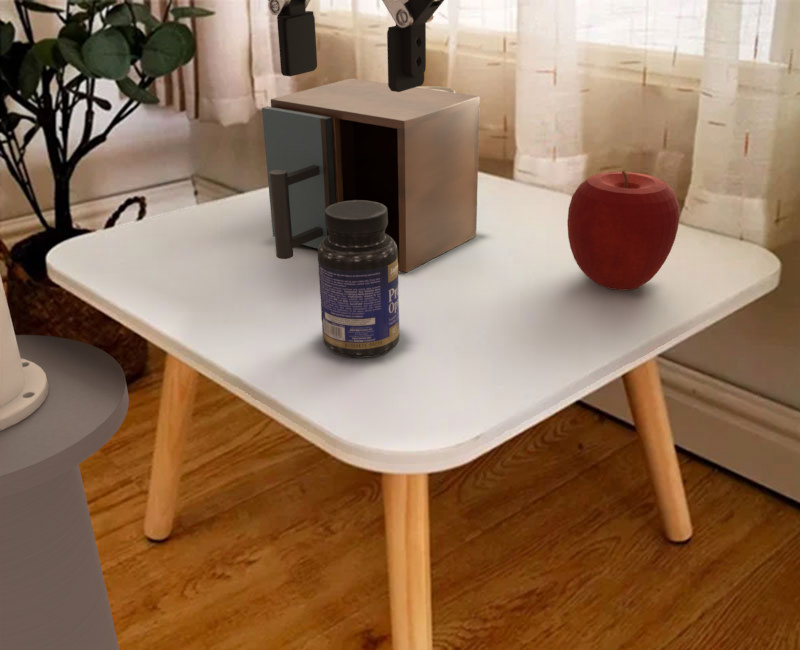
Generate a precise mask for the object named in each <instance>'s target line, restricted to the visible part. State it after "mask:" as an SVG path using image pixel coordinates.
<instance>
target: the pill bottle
mask: <svg viewBox="0 0 800 650" xmlns="http://www.w3.org/2000/svg"><path fill="white" fill-rule="evenodd" d="M325 225H326V227H327V229H328V231H329V236H327V237H326V238H325V239H324V240H323V241H322V242H321V243H320V245H319V248H318V249H317V263H318V279H319V280H318V281H319V282H318V283H319V296H320V313H321V316H320V318H321V319H320V320H321V326H322V327H321V329H322V339H323V344H324V345H325V346H326V347H327V349H329V350H330V351H331V352H333V353H335V354H337V355H341V356H343V357H349V358H371V357H376V356H379V355H380V356H381V355H384V354H387V353H389V352H391V351H392V350H393V349H394V348H395V347H396V346H397V345H398V343H399V341H400V300H399V299H400V298H399V296H400V295H399V294H400V293H399V270H398V251H397V245H396V243H395V241H394V240H393V239H392V238H391V237H390V236H388V235H387V234H385V229H386V227H387V225H388V212H387V207H386V206H384V205H383V204H381V203H378V202H373V201H364V200H354V201H344V202H339V203H335V204H333V205H330V206H329V207H327V208H326V210H325Z"/></svg>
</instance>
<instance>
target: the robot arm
mask: <svg viewBox="0 0 800 650" xmlns="http://www.w3.org/2000/svg"><path fill="white" fill-rule="evenodd" d="M267 1H268V2H267V3H268V10H269V12H270V13H271V14H272V15H273V16H276V22H277V35H278V36H277V37H278V48H279V59H280V60H279V61H280V72H281V75H282V76H284V77H294V76H298V75H303V74H307V73H311V72H314V71H315V70H317V68H318V55H317V54H318V53H317V52H318V51H317V37H316V36H317V35H316V17H315V15H314V14H315V13H314V11H313V10H307V8H308V6H309V4H310V2H311V0H267ZM381 1H382V3H383V4H384V6H385V8H386V9H387V11H388V13H389V14H390V16H391V18H392V19H393V21H394V23H395V25H392V26H388V27H387V28H388V29H387V32H386V39H387V40H386V41H387V42H386V44H387V48H386V49H387V83H388V87H389V88H390V90H391V91H395V92H401V91H404V90H408V89H411V88H415V87H422V86H423V84H424V83H425V72H426V68H427V23H431V22H432V21H433V20H434V17H435V13H436V11H437V10H438V9H439V7H440V6H441V5H442V4H443V2H445V0H381ZM3 283H4V282H3V280H2V275H1V274H0V431H2V430H4V429H7V428H9V427H11V426H13V425H15V424H17V423H19V422H20V421H22V420H24V419H25V418H27V417H28V416H30V415H31V414H32V413H33V412H35V411H36V410H37V409H38V408H39V407H40V406H41V404H42V403H43V402H44V401H45V399H46V397H47V395H48V388H49V385H48V382H47V378H46V374H45V372H44V371H43V370H42V368H41V367H39V366H38V365H36V364H35V363H33V362H30V361H28V360H25V359H22V358H20V354H19V349H18V345H17V341H16V337H15V335H16V333H15V330H14V329H15V328H14V325H13V321H12V317H11V312H10V308H9V304H8V299H7V295H6V292H5V288H4V284H3Z"/></svg>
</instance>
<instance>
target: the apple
mask: <svg viewBox="0 0 800 650" xmlns="http://www.w3.org/2000/svg"><path fill="white" fill-rule="evenodd" d="M567 210H568V213H567V237H568V242H569V248H570V251H571V253H572V256H573V259H574V261H575V263H576V264H577V266H578V267H579V269H580V270H581V272H582V273H583V274H584V275H585V276H586V277H587V278H588V279H590V280H591V281H592V282H593V283H594V284H596V285H598V286H600V287H604V288H606V289H611V290H618V291H624V290H625V291H627V290H634V289H638V288H640V287H642V286H644V285H645V284H646V283H647V282H649V281H651V280H652V279H653V278H654V277H655V276H656V274H657V273H658V272H659V271H660V270H661V268H662V267H663V265H664V264H665V263H666V260H667V259H668V257H669V255H670V253H671V251H672V249H673V246H674V243H675V241H676V237H677V232H678V230H679V223H680V222H679V221H680V216H681V215H680V214H681V213H680V203H679V200H678V197H677V195H676V193H675V190H673V188H672V187H671V186H670V185H669V184H668V183H667V182H666V181H665V180H663V179H661V178H659V177H657V176H654V175H650V174H646V173H638V172H631V171H626V170H622V171H609V172H600V173H596V174H593V175H591V176H589V177H588V178H586V179H585V180H584V181H582V182H581V183H580V184H579V185H578V186H577V188H576V189H575V191H574V193H573V194H572V196H571V198H570V202H569V206H568V209H567Z"/></svg>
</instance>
